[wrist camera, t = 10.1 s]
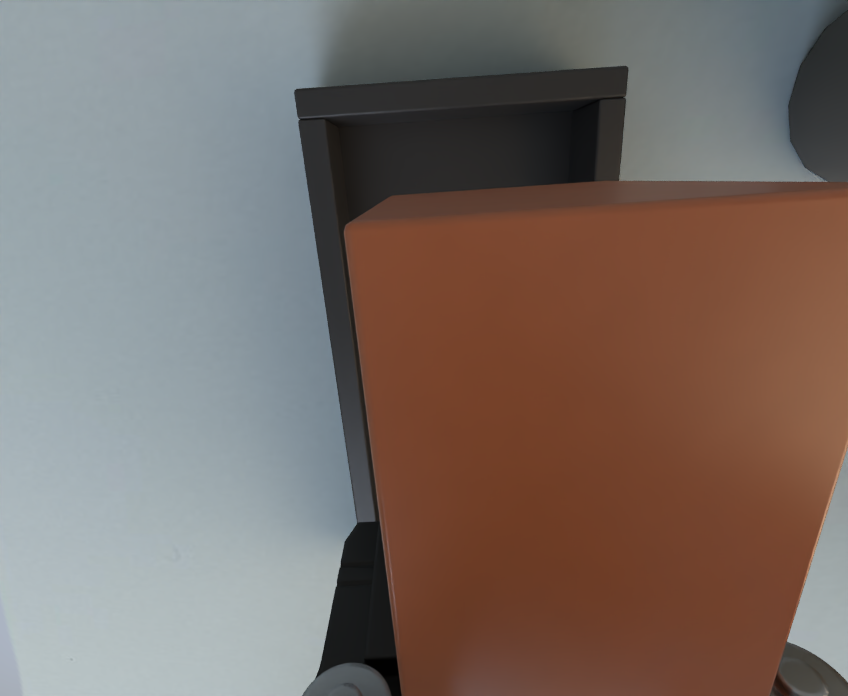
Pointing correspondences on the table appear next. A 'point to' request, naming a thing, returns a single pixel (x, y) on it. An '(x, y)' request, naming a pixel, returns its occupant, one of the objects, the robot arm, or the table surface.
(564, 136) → the tray
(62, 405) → the table surface
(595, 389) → the rectangular block
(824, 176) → the candle holder
